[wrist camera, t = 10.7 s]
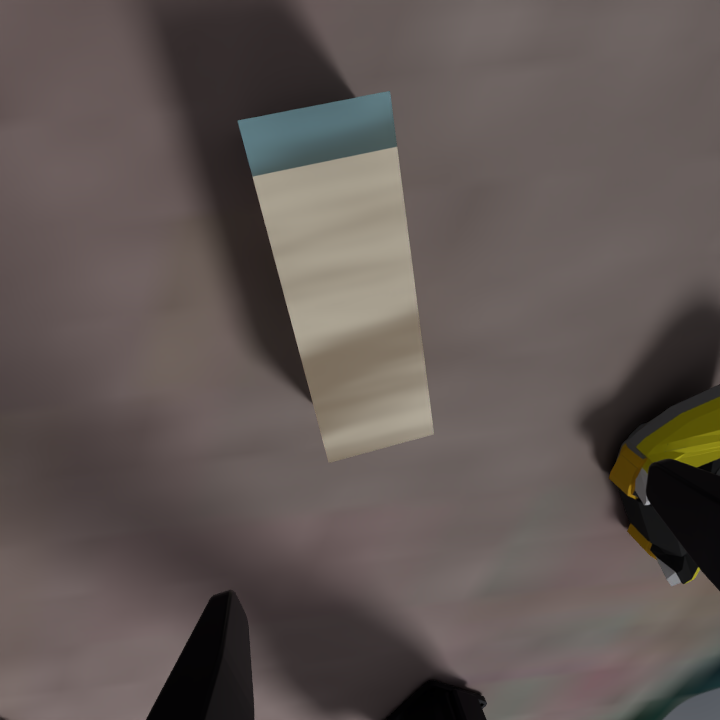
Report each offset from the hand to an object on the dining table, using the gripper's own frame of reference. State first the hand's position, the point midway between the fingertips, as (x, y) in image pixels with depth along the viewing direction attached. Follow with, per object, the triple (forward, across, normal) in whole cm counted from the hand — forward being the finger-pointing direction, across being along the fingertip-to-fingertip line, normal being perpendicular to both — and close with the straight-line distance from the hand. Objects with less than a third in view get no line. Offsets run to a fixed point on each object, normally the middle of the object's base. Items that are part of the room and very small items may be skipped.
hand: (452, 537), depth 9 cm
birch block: (+11, 0, +4) cm, 11 cm away
